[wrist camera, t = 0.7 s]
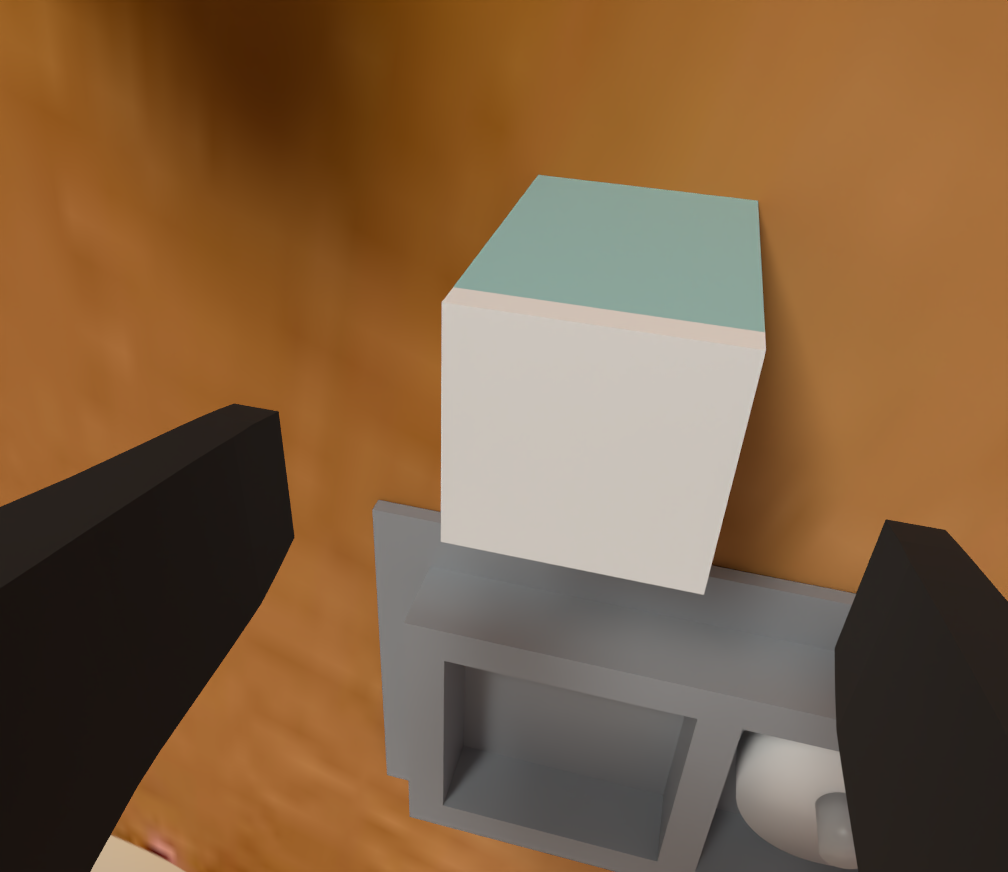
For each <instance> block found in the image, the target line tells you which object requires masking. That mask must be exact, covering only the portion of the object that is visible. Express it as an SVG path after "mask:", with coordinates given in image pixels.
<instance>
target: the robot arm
mask: <svg viewBox="0 0 1008 872" xmlns="http://www.w3.org/2000/svg"><path fill="white" fill-rule="evenodd" d="M293 539H294V530H293V522H292V514H291V506H290V498H289V490H288V483H287V475H286V467H285V459H284V451H283V443H282V435H281V427H280V419H279V412H278V411H273V410H267V409H261V408H256V407H250V406H244V405H239V404H232V405H229V406H226V407H224V408H221V409H218V410H216V411H213V412H211V413H209V414H206V415H204V416H202V417H199V418H197V419H195V420H193V421H190V422H188V423H186V424H184V425H181V426H179V427H177V428H175V429H173V430H171V431H169V432H166V433H164V434H162V435H160V436H158V437H156V438H154V439H151V440H149V441H147V442H145V443H143V444H141V445H139V446H137V447H134V448H132V449H130V450H128V451H126V452H124V453H121V454H119V455H117V456H115V457H113V458H111V459H109V460H106V461H104V462H102V463H100V464H98V465H96V466H93V467H91V468H89V469H87V470H85V471H83V472H81V473H78V474H76V475H74V476H72V477H70V478H67V479H65V480H63V481H60V482H58V483H56V484H53V485H51V486H49V487H46V488H44V489H41V490H39V491H37V492H34V493H32V494H30V495H27V496H25V497H23V498H20V499H18V500H16V501H13V502H11V503H9V504H6V505H4V506H2V507H0V872H90V871H91V869H92V867H93V865H94V864H95V862H96V860H97V858H98V856H99V854H100V853H101V851H102V849H103V847H104V846H105V844H106V842H107V840H108V838H109V837H110V835H111V833H112V831H113V829H114V828H115V826H116V824H117V822H118V820H119V819H120V817H121V815H122V813H123V811H124V810H125V808H126V806H127V804H128V802H129V801H130V799H131V797H132V795H133V793H134V792H135V790H136V788H137V786H138V785H139V783H140V782H141V780H142V779H143V777H144V775H145V774H146V772H147V771H148V769H149V767H150V766H151V764H152V763H153V761H154V760H155V758H156V756H157V755H158V753H159V752H160V750H161V749H162V747H163V746H164V744H165V743H166V742H167V740H168V739H169V737H170V736H171V734H172V733H173V731H174V730H175V729H176V727H177V726H178V724H179V723H180V721H181V720H182V719H183V717H184V716H185V714H186V713H187V711H188V710H189V708H190V707H191V706H192V704H193V703H194V701H195V700H196V698H197V697H198V695H199V694H200V693H201V691H202V690H203V688H204V687H205V685H206V684H207V682H208V681H209V680H210V678H211V677H212V675H213V674H214V672H215V671H216V670H217V668H218V667H219V665H220V664H221V662H222V661H223V659H224V658H225V657H226V655H227V654H228V652H229V651H230V649H231V648H232V646H233V645H234V643H235V642H236V640H237V639H238V637H239V636H240V635H241V633H242V632H243V630H244V629H245V627H246V626H247V624H248V623H249V621H250V620H251V618H252V617H253V615H254V614H255V612H256V611H257V609H258V608H259V606H260V605H261V603H262V601H263V599H264V597H265V595H266V593H267V592H268V590H269V588H270V586H271V584H272V582H273V580H274V578H275V576H276V574H277V572H278V570H279V568H280V566H281V564H282V562H283V560H284V558H285V556H286V554H287V552H288V550H289V547H290V545H291V543H292V541H293ZM835 705H836V732H837V739H838V746H839V753H840V759H841V766H842V772H843V779H844V785H845V792H846V799H847V805H848V811H849V817H850V824H851V830H852V836H853V842H854V848H855V855H856V861H857V867H858V872H1008V601H1007V600H1006V599H1005V598H1004V597H1003V596H1002V594H1001V593H1000V592H999V591H998V590H997V589H996V587H995V586H994V585H993V584H992V583H991V581H990V580H989V579H988V578H987V577H986V576H985V574H984V573H983V572H982V571H981V570H980V569H979V567H978V566H977V565H976V564H975V563H974V562H973V560H972V559H971V558H970V557H969V556H968V555H967V553H966V552H965V551H964V550H963V549H962V548H961V547H960V545H959V544H958V543H957V542H956V541H955V540H954V539H953V538H952V537H951V536H950V535H949V533H948V532H947V531H946V530H942V529H936V528H931V527H925V526H920V525H914V524H908V523H903V522H897V521H891V520H885V523H884V525H883V528H882V530H881V533H880V535H879V538H878V541H877V543H876V546H875V548H874V551H873V553H872V556H871V558H870V561H869V563H868V566H867V568H866V571H865V573H864V576H863V578H862V581H861V583H860V586H859V588H858V591H857V593H856V596H855V598H854V601H853V603H852V606H851V608H850V611H849V613H848V616H847V618H846V621H845V623H844V626H843V628H842V631H841V633H840V636H839V638H838V641H837V643H836V646H835Z"/></svg>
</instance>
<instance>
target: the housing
mask: <svg viewBox="0 0 1008 872" xmlns="http://www.w3.org/2000/svg"><path fill="white" fill-rule="evenodd" d="M373 528H374V546H375V564H376V582H377V600H378V618H379V636H380V654H381V672H382V690H383V708H384V726H385V744H386V762H387V775H389V776H393V777H397V778H401V779H405V780H409V809H410V817H413V818H416V819H420V820H424V821H428V822H431V823H435V824H439V825H443V826H446V827H450V828H454V829H458V830H461V831H465V832H469V833H473V834H476V835H480V836H484V837H488V838H491V839H495V840H499V841H503V842H506V843H510V844H514V845H518V846H521V847H525V848H529V849H533V850H536V851H540V852H544V853H548V854H551V855H555V856H559V857H563V858H566V859H570V860H574V861H578V862H581V863H585V864H589V865H593V866H596V867H600V868H604V869H608V870H611V871H615V872H858V867H857V861H856V855H855V848H854V842H853V836H852V830H851V824H850V817H849V811H848V805H847V799H846V792H845V785H844V779H843V772H842V766H841V759H840V753H839V746H838V739H837V732H836V705H835V646H836V643H837V641H838V638H839V636H840V633H841V631H842V628H843V626H844V623H845V621H846V618H847V616H848V613H849V611H850V608H851V606H852V603H853V601H854V598H855V596H856V594H854V593H849V592H844V591H839V590H834V589H829V588H824V587H819V586H814V585H809V584H804V583H799V582H793V581H788V580H783V579H778V578H773V577H768V576H763V575H758V574H753V573H748V572H743V571H737V570H732V569H727V568H722V567H717V566H712V565H711V569H710V573H709V577H708V581H707V584H706V588H705V592H704V595H702V594H697V593H692V592H687V591H682V590H677V589H672V588H667V587H662V586H657V585H653V584H648V583H643V582H638V581H633V580H628V579H623V578H618V577H613V576H608V575H603V574H598V573H593V572H588V571H583V570H578V569H573V568H568V567H563V566H558V565H553V564H549V563H544V562H539V561H534V560H529V559H524V558H519V557H514V556H509V555H504V554H499V553H494V552H489V551H484V550H479V549H474V548H469V547H464V546H459V545H454V544H449V543H444V542H441V512H437V511H432V510H427V509H422V508H417V507H412V506H407V505H401V504H396V503H391V502H386V501H381V500H378V501H377V503H376V505H375V506H374V508H373Z"/></svg>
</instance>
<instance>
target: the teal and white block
mask: <svg viewBox="0 0 1008 872" xmlns="http://www.w3.org/2000/svg"><path fill="white" fill-rule="evenodd" d="M765 353H766V339H765V321H764V303H763V284H762V266H761V247H760V229H759V211H758V201H755V200H747V199H738V198H730V197H721V196H713V195H704V194H696V193H687V192H679V191H670V190H662V189H653V188H645V187H637V186H628V185H620V184H611V183H603V182H594V181H586V180H577V179H569V178H560V177H552V176H543V175H538V176H537V177H536V179H535V180H534V181H533V183H532V184H531V185H530V187H529V188H528V189H527V191H526V192H525V193H524V195H523V196H522V197H521V198H520V200H519V201H518V202H517V204H516V205H515V206H514V208H513V209H512V210H511V212H510V213H509V214H508V216H507V217H506V218H505V220H504V221H503V222H502V224H501V225H500V226H499V228H498V229H497V230H496V232H495V233H494V234H493V235H492V237H491V238H490V239H489V241H488V242H487V243H486V245H485V246H484V247H483V249H482V250H481V251H480V253H479V254H478V255H477V257H476V258H475V259H474V261H473V262H472V263H471V265H470V266H469V267H468V268H467V270H466V271H465V272H464V274H463V275H462V276H461V278H460V279H459V280H458V282H457V283H456V284H455V286H454V287H453V288H452V290H451V291H450V292H449V294H448V295H447V296H446V298H445V299H444V300H443V301H442V380H441V542H444V543H449V544H454V545H459V546H464V547H469V548H474V549H479V550H484V551H489V552H494V553H499V554H504V555H509V556H514V557H519V558H524V559H529V560H534V561H539V562H544V563H549V564H553V565H558V566H563V567H568V568H573V569H578V570H583V571H588V572H593V573H598V574H603V575H608V576H613V577H618V578H623V579H628V580H633V581H638V582H643V583H648V584H653V585H657V586H662V587H667V588H672V589H677V590H682V591H687V592H692V593H697V594H702V595H704V592H705V588H706V584H707V581H708V577H709V573H710V569H711V565H712V561H713V557H714V553H715V549H716V545H717V541H718V537H719V533H720V530H721V526H722V522H723V518H724V514H725V510H726V506H727V502H728V498H729V494H730V490H731V486H732V482H733V478H734V475H735V471H736V467H737V463H738V459H739V455H740V451H741V447H742V443H743V439H744V435H745V431H746V427H747V424H748V420H749V416H750V412H751V408H752V404H753V400H754V396H755V392H756V388H757V384H758V380H759V376H760V372H761V369H762V365H763V361H764V357H765Z"/></svg>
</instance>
